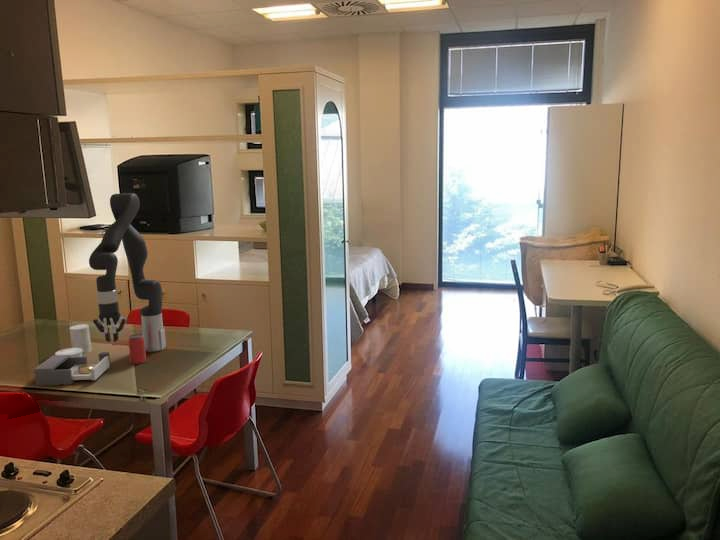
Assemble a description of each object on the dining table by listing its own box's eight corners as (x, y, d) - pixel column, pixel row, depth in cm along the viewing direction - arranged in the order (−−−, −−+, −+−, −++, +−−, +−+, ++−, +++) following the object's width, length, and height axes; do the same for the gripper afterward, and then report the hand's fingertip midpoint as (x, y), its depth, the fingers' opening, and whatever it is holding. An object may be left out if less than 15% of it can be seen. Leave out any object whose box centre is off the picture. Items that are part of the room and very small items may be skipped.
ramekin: (64, 358, 270) (62, 347, 269) (88, 358, 269) (87, 347, 268) (51, 367, 259) (49, 355, 258) (76, 367, 258) (74, 355, 257)
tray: (109, 366, 254) (108, 356, 253) (95, 380, 239) (93, 369, 238) (76, 367, 254) (75, 357, 253) (59, 381, 239) (58, 370, 238)
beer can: (131, 365, 259) (128, 339, 256) (129, 360, 264) (127, 335, 262) (147, 362, 262) (144, 336, 259) (145, 358, 267) (142, 332, 265)
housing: (88, 369, 255) (86, 354, 253) (71, 384, 239) (69, 367, 238) (55, 370, 254) (53, 355, 253) (36, 385, 238) (34, 369, 237)
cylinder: (112, 362, 263) (110, 351, 262) (108, 365, 259) (107, 355, 258) (102, 362, 263) (100, 352, 262) (98, 366, 258) (96, 355, 257)
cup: (84, 354, 274) (81, 329, 272) (68, 353, 276) (65, 329, 273) (95, 348, 282) (92, 324, 279) (80, 347, 283) (77, 323, 281)
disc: (96, 368, 249) (96, 364, 249) (90, 374, 243) (89, 369, 243) (82, 369, 249) (82, 364, 249) (75, 374, 243) (75, 370, 243)
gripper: (86, 303, 237) (91, 344, 240) (121, 302, 237) (126, 343, 241) (94, 299, 244) (99, 339, 248) (128, 298, 245) (132, 338, 248)
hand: (112, 341), depth 244 cm, fingers closed
